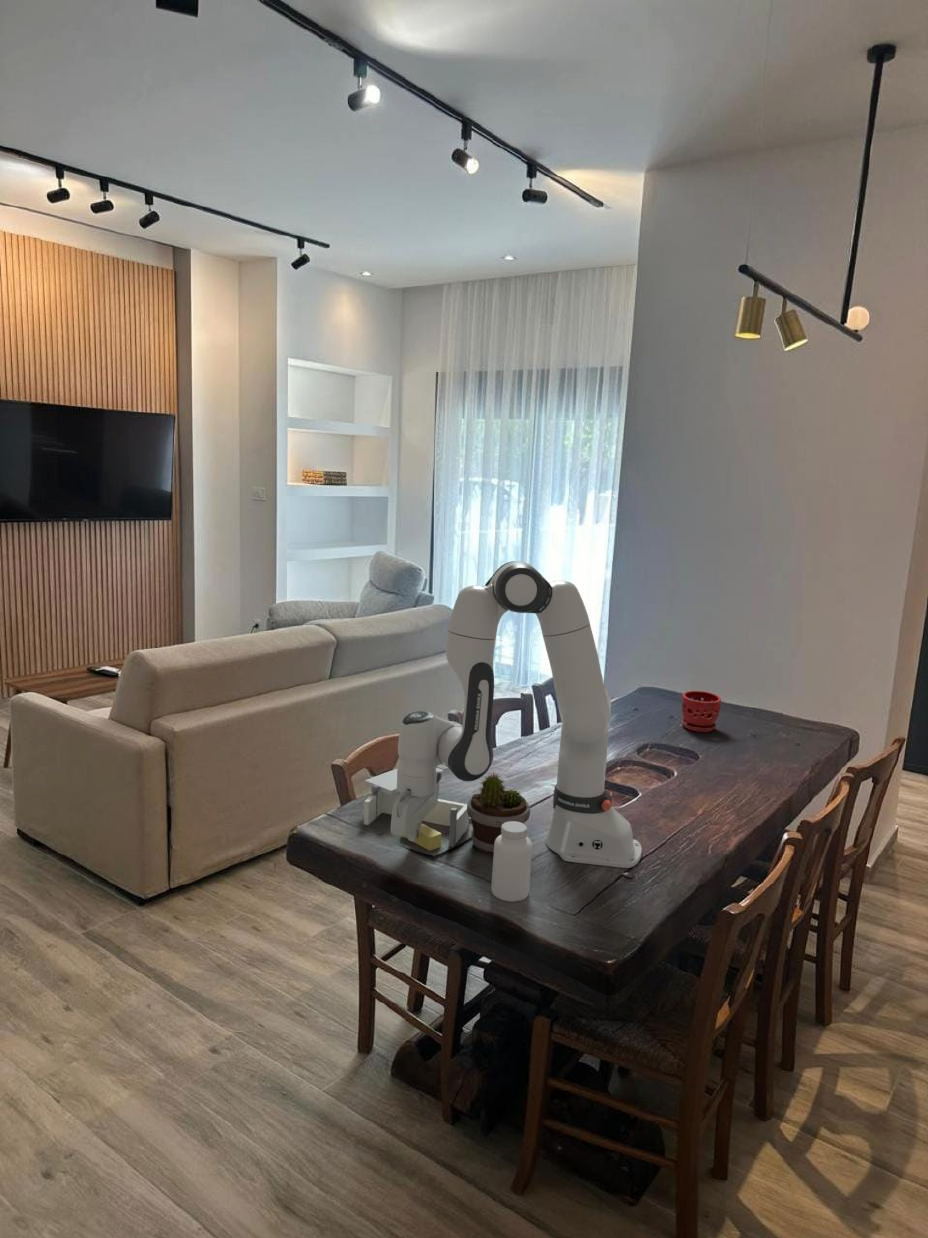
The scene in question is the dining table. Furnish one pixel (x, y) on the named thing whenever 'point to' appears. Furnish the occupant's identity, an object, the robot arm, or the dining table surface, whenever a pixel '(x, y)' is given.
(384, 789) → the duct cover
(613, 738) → the dining table surface
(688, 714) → the plant pot
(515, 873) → the pill bottle
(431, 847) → the yellow rectangular block
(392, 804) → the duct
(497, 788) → the flowerpot
